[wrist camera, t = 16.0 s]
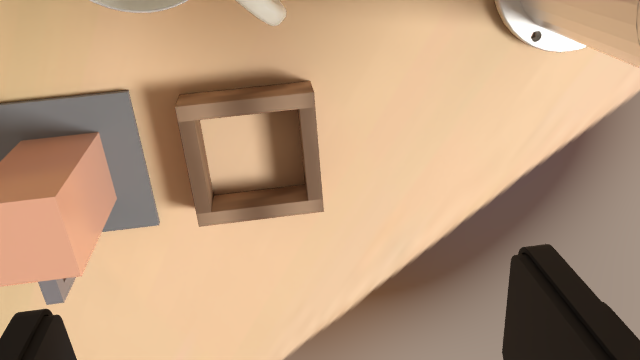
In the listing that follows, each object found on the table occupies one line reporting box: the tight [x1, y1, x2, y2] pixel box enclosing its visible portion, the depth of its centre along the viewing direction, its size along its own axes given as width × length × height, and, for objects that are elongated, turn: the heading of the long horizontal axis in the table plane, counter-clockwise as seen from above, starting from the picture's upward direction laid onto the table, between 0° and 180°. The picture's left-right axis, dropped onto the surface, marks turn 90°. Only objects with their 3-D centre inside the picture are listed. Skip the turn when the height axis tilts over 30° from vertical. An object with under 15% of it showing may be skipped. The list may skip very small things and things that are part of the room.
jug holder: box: [175, 81, 324, 227], centre depth 45 cm, size 10×10×3 cm
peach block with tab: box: [0, 132, 117, 305], centre depth 41 cm, size 6×9×11 cm, turn 4°
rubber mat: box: [0, 90, 160, 232], centre depth 45 cm, size 12×12×1 cm
